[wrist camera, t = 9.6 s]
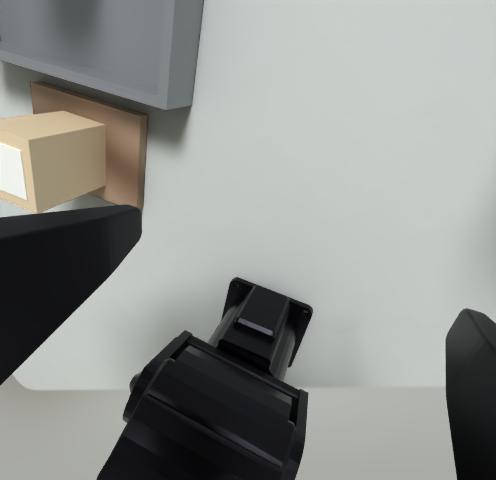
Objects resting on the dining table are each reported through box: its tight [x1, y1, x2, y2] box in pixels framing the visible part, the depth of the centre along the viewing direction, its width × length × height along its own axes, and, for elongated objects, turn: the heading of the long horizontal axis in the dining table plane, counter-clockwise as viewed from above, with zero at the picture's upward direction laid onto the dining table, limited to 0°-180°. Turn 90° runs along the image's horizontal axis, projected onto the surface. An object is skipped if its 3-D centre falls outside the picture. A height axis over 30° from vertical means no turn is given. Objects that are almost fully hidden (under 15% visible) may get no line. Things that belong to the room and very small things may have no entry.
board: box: [30, 82, 148, 209], centre depth 25 cm, size 7×9×1 cm
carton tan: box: [0, 111, 106, 214], centre depth 22 cm, size 4×4×6 cm
